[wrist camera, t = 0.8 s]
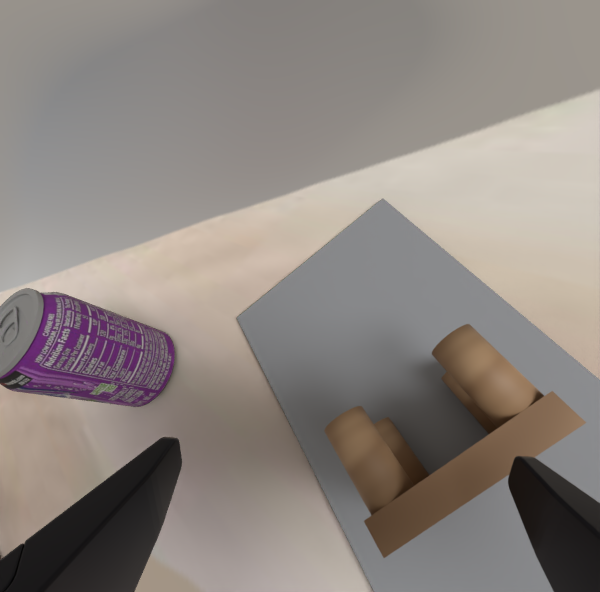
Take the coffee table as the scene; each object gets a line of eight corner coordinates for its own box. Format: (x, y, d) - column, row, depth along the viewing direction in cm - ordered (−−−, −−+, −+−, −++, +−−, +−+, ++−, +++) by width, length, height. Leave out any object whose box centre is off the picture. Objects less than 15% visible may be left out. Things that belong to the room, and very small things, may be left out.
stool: (540, 433, 17) (586, 422, 10) (415, 518, 18) (384, 558, 11) (471, 361, 20) (472, 316, 13) (364, 438, 20) (315, 432, 14)
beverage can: (117, 365, 33) (-30, 330, 23) (166, 318, 33) (38, 262, 23) (135, 424, 29) (-34, 412, 19) (191, 371, 29) (48, 331, 19)
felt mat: (734, 496, 14) (740, 497, 13) (423, 685, 15) (422, 689, 15) (383, 200, 27) (382, 198, 27) (238, 318, 29) (236, 317, 29)
